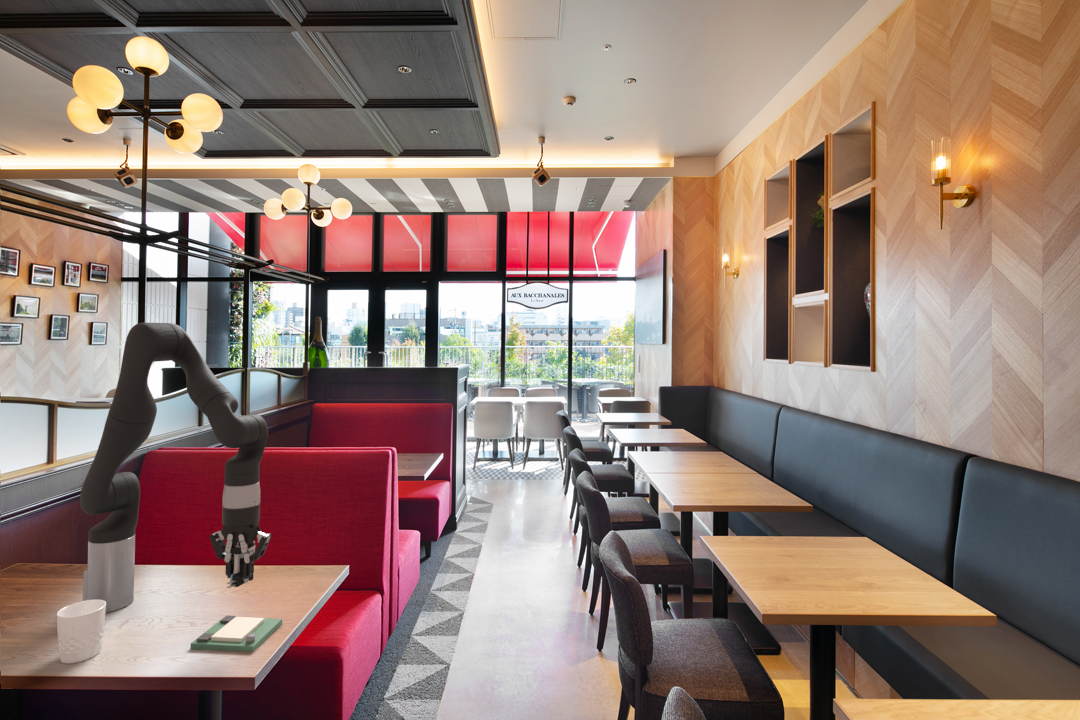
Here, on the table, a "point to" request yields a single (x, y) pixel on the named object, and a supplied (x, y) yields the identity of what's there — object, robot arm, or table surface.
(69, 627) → the white cup
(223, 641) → the board
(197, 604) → the table surface
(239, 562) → the push button
